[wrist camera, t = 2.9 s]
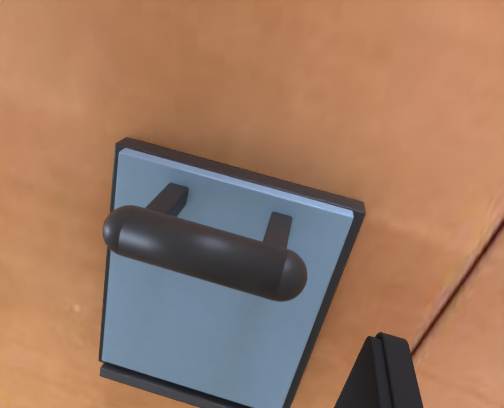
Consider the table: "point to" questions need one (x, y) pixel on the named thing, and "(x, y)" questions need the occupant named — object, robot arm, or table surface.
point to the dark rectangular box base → (208, 403)
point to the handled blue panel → (215, 278)
